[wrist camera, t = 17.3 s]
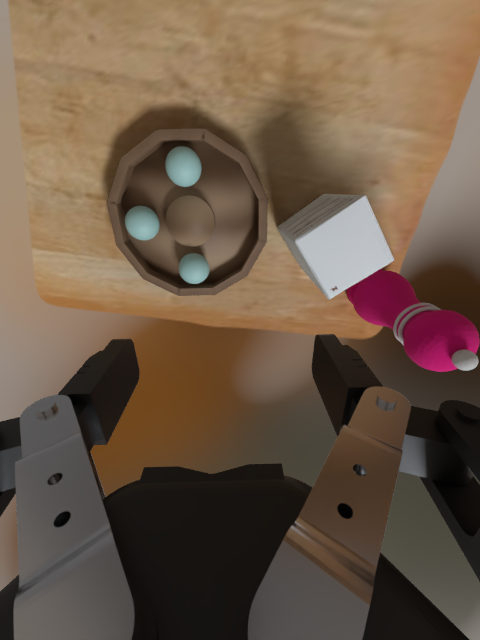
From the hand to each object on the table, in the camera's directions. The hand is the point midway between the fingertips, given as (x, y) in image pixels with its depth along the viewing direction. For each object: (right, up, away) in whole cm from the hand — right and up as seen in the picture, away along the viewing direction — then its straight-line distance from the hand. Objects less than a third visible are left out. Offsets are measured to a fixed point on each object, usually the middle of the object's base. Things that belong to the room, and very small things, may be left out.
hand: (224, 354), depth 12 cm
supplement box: (+11, +13, +25) cm, 30 cm away
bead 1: (-11, +13, +21) cm, 27 cm away
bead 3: (-5, +8, +24) cm, 26 cm away
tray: (-6, +15, +24) cm, 29 cm away
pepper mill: (+20, +6, +29) cm, 35 cm away
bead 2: (-6, +19, +19) cm, 27 cm away
